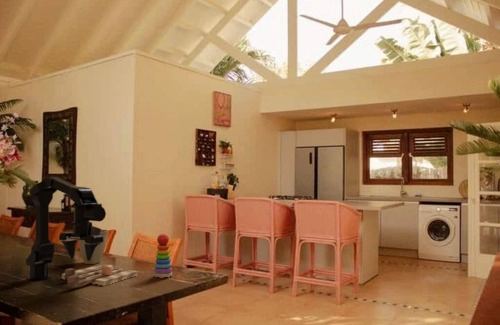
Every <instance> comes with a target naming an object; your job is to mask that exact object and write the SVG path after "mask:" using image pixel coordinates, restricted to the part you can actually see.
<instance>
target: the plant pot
mask: <svg viewBox="0 0 500 325" xmlns="http://www.w3.org/2000/svg"><path fill="white" fill-rule="evenodd" d="M108 234H109V230H108V229H101V232H100V235H102V236H103V242H101V244H98V245H97V246H96V248H95V250H94V252H93V255H92V257H91V260H90V261H87V257H86V251H85V246H84V244H87V243H86V242H85V240H78V239H77V240H78V241H77V243H78V248H79V251H80V254H81V257H82V261H83V262H84V264H86V265H96V264H100V263H101V261H102V258H103V255H104V252H105V249H106V246H107V241H108Z"/></svg>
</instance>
